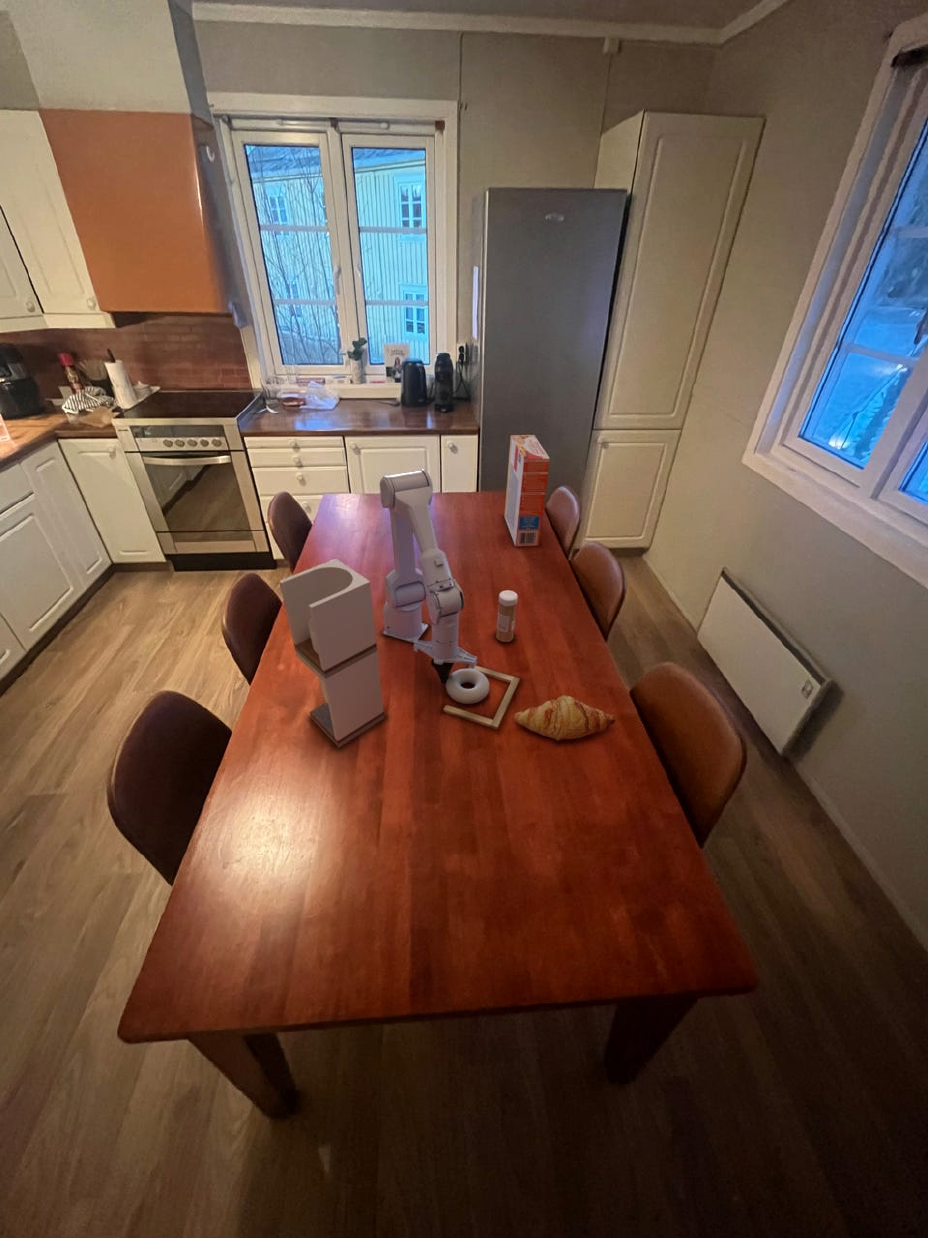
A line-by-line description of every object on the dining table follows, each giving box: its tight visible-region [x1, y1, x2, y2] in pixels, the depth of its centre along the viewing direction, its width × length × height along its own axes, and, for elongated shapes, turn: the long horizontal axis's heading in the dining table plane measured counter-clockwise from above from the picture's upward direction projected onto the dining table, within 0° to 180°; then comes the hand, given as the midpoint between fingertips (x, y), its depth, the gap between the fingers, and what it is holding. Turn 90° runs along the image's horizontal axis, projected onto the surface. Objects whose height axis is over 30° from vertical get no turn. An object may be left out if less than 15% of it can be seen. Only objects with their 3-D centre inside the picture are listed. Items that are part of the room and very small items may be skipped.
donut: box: [445, 668, 490, 705], centre depth 114 cm, size 10×4×10 cm
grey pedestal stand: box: [278, 558, 385, 748], centre depth 97 cm, size 11×11×35 cm
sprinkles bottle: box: [495, 589, 519, 643], centre depth 127 cm, size 5×5×13 cm
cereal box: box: [503, 434, 551, 547], centre depth 170 cm, size 23×8×30 cm, turn 6°
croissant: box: [514, 694, 616, 742], centre depth 106 cm, size 21×10×8 cm, turn 90°
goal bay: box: [442, 665, 521, 730], centre depth 114 cm, size 12×16×1 cm
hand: (444, 680), depth 116 cm, fingers closed
